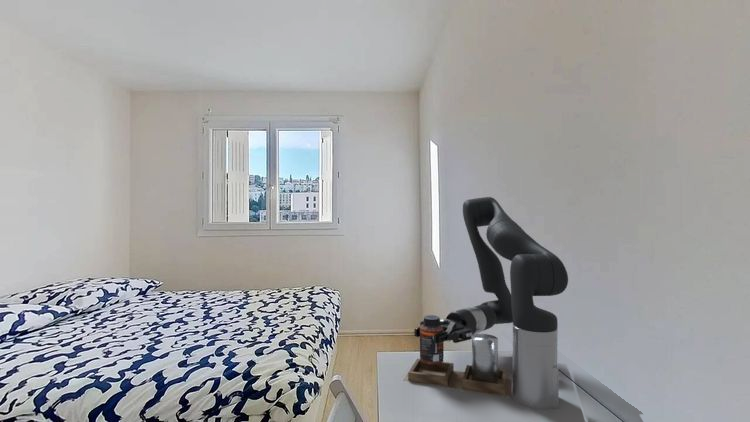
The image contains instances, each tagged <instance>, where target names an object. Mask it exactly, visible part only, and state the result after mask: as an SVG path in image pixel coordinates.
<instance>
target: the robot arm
mask: <svg viewBox="0 0 750 422" xmlns="http://www.w3.org/2000/svg"><path fill="white" fill-rule="evenodd" d="M462 217H463V220H464V224H465V227H466V231H467V234H468V237H469V240H470V244H471V246H472V249H473V252H474V255H475V258H476V262H477V265H478V269H479V276H480V280H481V284H482V289H483V291H484V292H486V293H488V294H489V293H490V294H493V295H495V297H496V300H489V301H484V302H483V303H481V304H479V305H476V306H472V307H465V308H464V307H463V308H461V309H458V310H454V311H450V313H448V314H447V316H446V318H442V319H440V325H441V326H442V327H443V329H444V331H443V332H440V333H437V334H435V335H434V343H436V344H438V343H441V342H451V341H452V342H453V344H458V343H461V342H466V341H469V340H472V336H473V335H476V334H481V333H482V332H484V331H487V330H489V329H492V328H493V327H494V325H501V324H502V325H504V324H512V388H511V394H512V398H513V399H514V400H515V401H516V402H517V403H519V404H521V405H524V406H526V407H528V408H533V409H538V410H539V409H540V410H547V409H559V391H560V390H559V387H560V386H559V377H560V375H559V371H560V370H559V366H558V328H559V327H558V325H559V324H558V317H557V315H556V314H554V313H553V312H551V311H549V310H546V309H543V308H540V307H538V306H536V305H535V303H534V297H551V296H557V295H560V294H563V292H565V291H566V289H567V286H568V284H569V276H568V271H567V268H566V266H565V264H564V262H562V260H561V259H560V258H559V257H558V256H557V255H556V254H554V253H553V252H552V251H550V250H549V249H547V248H546V247H544V246H542V245H541V244H540V243H539V242H537V241H536V240H534V238H533V237H532V236H530V234H528V233H526V231H525V230H524V229H523V228H522V226H520V225H519V224H518V223H517V222H516V221H514V219H512V218H511V217H510V216H509V214H507V212H505V210H504V209H503V207H502V205H500V203H499V202H498V201H497V200H496V199H495V198H494V197H491V196H485V197H478V198H477V197H476V198H469V199H466V200H464V202H463V203H462ZM480 227H487V228H486V233H485V235H486V239H487V242H488V243H489V245H490V246H491V248H490V246H489V245H488V244H487V243H486V242H485V240H484V239H483V237H482V236H481V234H480V231H479V228H480ZM493 250H494V251H495V252H496V253H497V254H498V256H500V257H502V258H503V259H506V260H508V261H510V262H511V263H510V269H509V281H510V288H508V285H507V282H506V278H505V273H504V268H503V265H502V264H503V263H502V262H501V260H500V259H499V257H498V256H497V254H496V253H495V252H494V251H493ZM419 324H420V326H417V327H415V328H414V332H413V333H414V334H413V335H414V337H416V338H420V327H421V325H422V324H424V320H422V321H420V322H419Z"/></svg>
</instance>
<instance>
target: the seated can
mask: <svg viewBox="0 0 750 422" xmlns="http://www.w3.org/2000/svg"><path fill="white" fill-rule="evenodd" d="M471 349H472V350H471V366H472V380H474V381H481V382H488V383H495V384H498V369H499V338H498V337H497V336H495V335H494V334H493V335H492V334H488V333H478V334H476V335H473V336H472V339H471Z"/></svg>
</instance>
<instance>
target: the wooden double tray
mask: <svg viewBox="0 0 750 422" xmlns="http://www.w3.org/2000/svg"><path fill="white" fill-rule="evenodd" d="M454 367H455V365H454V362H447V361H443V362H442V363H441V364H439V365H428V364H424V363H423V362H421V360H420V358H417V359H416V360H415V362H414V363H413V365H412V366H411V368H410V369H409V371H408V372H407V374H406V375H405V377H404V378H403V381H406V382H410V383H411V382H414V383H419V384H425V385H432V386H439V387H445V388H450V389H451V388H452V389H457V390H464V391H471V392H476V393H477V392H478V393H483V394H490V395H495V396H496V395H497V396H504V397H510V398H511V397H512V378H510V377H507V369H500V368H498V384H495V383H488V382H481V381H474V380H472V364H471V365H470V364H466V366H465V370H464V371H461V370H459V371H458V370H454V369H455V368H454Z"/></svg>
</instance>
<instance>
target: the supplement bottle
mask: <svg viewBox="0 0 750 422" xmlns="http://www.w3.org/2000/svg"><path fill="white" fill-rule="evenodd" d="M440 320H441V319H440V316H438V315H433V314H429V315H427V314H426V315H425V316H424V317H423V321H424V324H422V325H421V327H420V326H419V327H420V336H419V359H420V360H421V362H423V363H424V364H428V365H439V364H441V363H442V362H444V358H445V357H444V352H445V351H444V342H445V341H444V342H441V343H438V344H436V343H434V335H435V334H437V333H440V332H443V331H444V329H443V327H442V326H441V325H440Z"/></svg>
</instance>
